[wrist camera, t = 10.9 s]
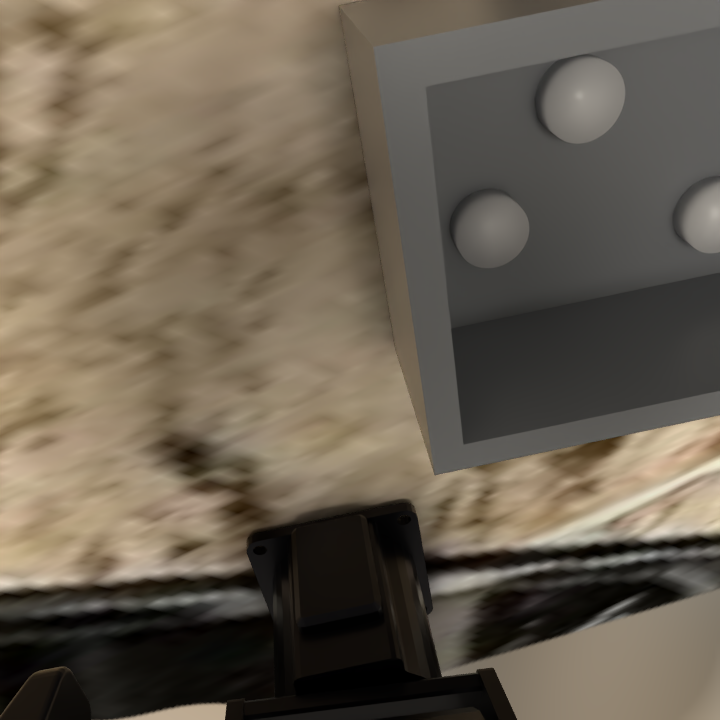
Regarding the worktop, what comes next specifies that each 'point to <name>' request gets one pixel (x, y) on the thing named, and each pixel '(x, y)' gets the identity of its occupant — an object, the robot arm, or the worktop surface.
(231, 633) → the worktop surface
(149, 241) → the worktop surface
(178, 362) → the worktop surface
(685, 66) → the tub
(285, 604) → the robot arm
